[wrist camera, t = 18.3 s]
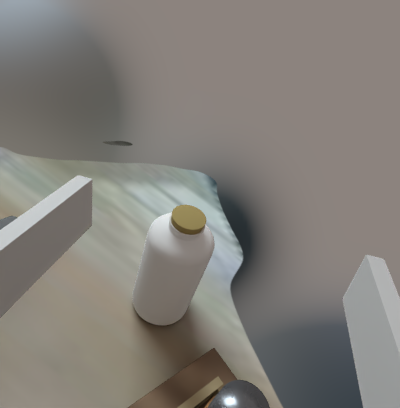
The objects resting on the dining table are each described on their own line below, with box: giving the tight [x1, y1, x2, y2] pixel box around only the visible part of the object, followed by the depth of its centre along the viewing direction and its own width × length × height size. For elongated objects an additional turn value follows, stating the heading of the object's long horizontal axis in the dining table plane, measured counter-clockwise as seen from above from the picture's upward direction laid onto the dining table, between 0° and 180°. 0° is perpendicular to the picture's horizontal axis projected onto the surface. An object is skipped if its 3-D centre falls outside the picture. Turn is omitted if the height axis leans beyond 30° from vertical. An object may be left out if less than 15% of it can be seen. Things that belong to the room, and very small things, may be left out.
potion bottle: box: [132, 205, 214, 325], centre depth 44 cm, size 8×8×18 cm
